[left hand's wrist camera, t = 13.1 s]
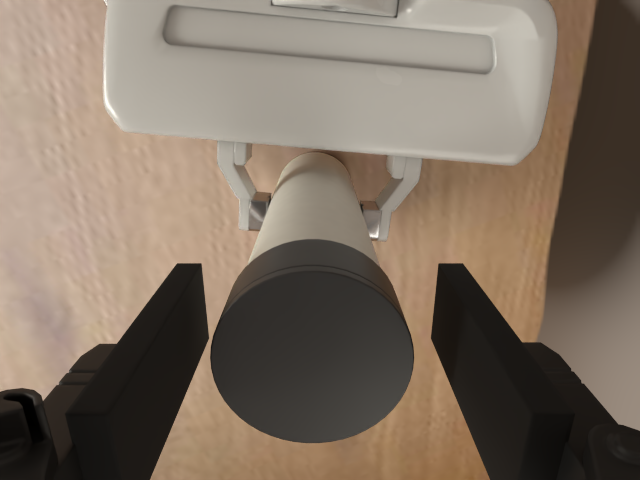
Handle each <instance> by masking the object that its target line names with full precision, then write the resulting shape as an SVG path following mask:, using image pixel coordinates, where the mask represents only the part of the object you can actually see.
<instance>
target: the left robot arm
mask: <svg viewBox="0 0 640 480" xmlns="http://www.w3.org/2000/svg"><path fill="white" fill-rule="evenodd" d="M208 339H209V334H208V324H207V314H206V304H205V294H204V285H203V275H202V265H201V264H176V266H175V267H174V268H173V270H172V271H171V272H170V274H169V275H168V276H167V278H166V279H165V280H164V282H163V283H162V284H161V286H160V287H159V288H158V290H157V291H156V292H155V294H154V295H153V296H152V298H151V299H150V300H149V302H148V303H147V304H146V306H145V307H144V308H143V310H142V311H141V312H140V314H139V315H138V316H137V318H136V319H135V320H134V322H133V323H132V324H131V326H130V327H129V328H128V330H127V331H126V332H125V334H124V335H123V336H122V338H121V339H120V340H119V342H118V343H117V344H99V345H97V346H96V347H94V348H93V349H91V350H90V351H88V352H87V353H85V354H84V355H82V356H81V357H80V358H79V359H78V361H77V362H76V363H75V364H74V365H73V366H72V368H71V369H70V370H69V373H67V374H66V375H65V376H64V377H63V378H62V379H61V381H60V382H59V385H56V387H55V388H54V389H53V390H52V391H51V393H50V394H49V395H48V396H47V397H46V398H45V400H44V401H43V400H42V397H41V395H40V394H39V393H37V392H36V391H35V390H30V389H24V388H20V389H11V390H5V391H2V392H0V480H150V478H151V476H152V473H153V471H154V468H155V466H156V464H157V461H158V459H159V456H160V454H161V452H162V449H163V447H164V445H165V442H166V440H167V437H168V435H169V433H170V430H171V428H172V425H173V423H174V421H175V418H176V416H177V413H178V411H179V409H180V406H181V404H182V402H183V399H184V397H185V394H186V392H187V390H188V387H189V385H190V382H191V380H192V378H193V375H194V373H195V370H196V368H197V366H198V363H199V361H200V359H201V356H202V354H203V351H204V349H205V347H206V344H207V342H208ZM431 339H432V342H433V344H434V347H435V349H436V351H437V354H438V356H439V359H440V361H441V363H442V366H443V368H444V370H445V373H446V375H447V378H448V380H449V382H450V385H451V387H452V390H453V392H454V394H455V397H456V399H457V402H458V404H459V406H460V409H461V411H462V413H463V416H464V418H465V421H466V423H467V425H468V428H469V430H470V433H471V435H472V437H473V440H474V442H475V445H476V447H477V449H478V452H479V454H480V456H481V459H482V461H483V464H484V466H485V468H486V471H487V473H488V476H489V478H490V480H640V431H638V430H635V429H632V428H630V427H627V426H624V425H618V423H617V422H616V421H615V420H614V419H613V418H612V416H611V415H610V414H609V413H608V412H607V410H606V409H605V408H604V407H603V406H602V405H601V403H600V402H599V401H598V400H597V399H596V398H595V396H594V395H593V394H592V393H591V392H590V390H589V389H588V388H587V387H586V386H585V385H584V384H582V383H581V380H580V379H579V377H578V376H577V375H576V374H575V373H574V372H572V371H571V368H570V367H569V366H568V365H567V363H566V362H565V361H564V360H563V359H562V357H561V356H560V355H559V354H557V353H556V352H554V351H553V350H551V349H550V348H548V347H547V346H545V345H544V344H542V343H522V342H521V340H520V339H519V338H518V336H517V335H516V334H515V332H514V331H513V330H512V328H511V327H510V326H509V324H508V323H507V322H506V320H505V319H504V318H503V316H502V315H501V314H500V312H499V311H498V310H497V308H496V307H495V306H494V304H493V303H492V302H491V300H490V299H489V298H488V296H487V295H486V294H485V292H484V291H483V290H482V288H481V287H480V286H479V284H478V283H477V282H476V280H475V279H474V278H473V276H472V275H471V274H470V272H469V271H468V270H467V268H466V267H465V266H464V264H439V265H438V275H437V285H436V294H435V304H434V314H433V324H432V334H431Z"/></svg>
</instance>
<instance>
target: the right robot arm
mask: <svg viewBox="0 0 640 480" xmlns="http://www.w3.org/2000/svg"><path fill="white" fill-rule="evenodd" d="M104 3H105V5H106V7H107V11H106V21H105V32H104V48H103V101H104V107H105V109H106V111H107V113H108V114H109V115H110V117H111V118H112V119H113V121H114V122H115V123H116V124H117V126H118V127H119V128H120V129H121V130H122V131H124V132H127V133H137V134H149V135H160V136H172V137H183V138H195V139H206V140H217V164H218V166H219V168H220V169H221V171H222V173H223V175H224V176H225V178H226V180H227V182H228V184H229V185H230V187H231V189H232V191H233V192H234V194H235V196H236V198H238V199H239V230H244V231H260V230H261V227H262V224H263V221H264V219H265V216H266V213H267V211H268V208H269V205H270V202H271V194H272V193H266V192H256V191H257V190H256V188H255V186H254V184H253V182H252V180H251V178H250V176H249V174H248V172H247V170H246V168H245V166H244V165H245V164H246V163H247V161H248V160H249V159H250V158H251V157H252V144H264V145H275V146H287V147H298V148H310V149H321V150H333V151H344V152H356V153H367V154H379V155H387V161H386V169H387V170H388V172H389V173H390V174H391V176H392V178H391V179H390V181H389V182H388V183H387V185H386V186H385V187H384V189H383V190H382V192H381V193H380V194H379V196H378V197H377V198H376V200H375V201H360V208H361V211H362V214H363V217H364V220H365V223H366V226H367V229H368V232H369V235H370V238H371V241H382V242H386V241H387V238H388V233H389V226H390V219H391V212H392V211H395V210H396V208H397V207H398V206H399V205H400V204H401V202H402V201H403V200H404V199H405V198H406V196H407V195H408V194H409V193H410V191H411V190H412V189H413V188H414V187H415V185H416V184H417V183H418V182H419V177H420V171H421V166H422V160H423V158H425V159H436V160H448V161H459V162H471V163H482V164H494V165H506V166H514V165H517V164H518V163H519V162H521V161H522V160H523V159H524V158H525V157H526V156H527V155H528V154H529V153H530V152H531V151H532V150H533V149H534V148H535V147H536V146H537V144H538V142H539V139H540V136H541V133H542V129H543V125H544V121H545V117H546V112H547V108H548V103H549V98H550V92H551V87H552V80H553V74H554V67H555V59H556V51H557V39H558V31H557V21H556V16H555V12H554V10H553V7H552V5H551V4H550V2H549V0H104Z"/></svg>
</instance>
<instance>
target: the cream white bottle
mask: <svg viewBox="0 0 640 480" xmlns="http://www.w3.org/2000/svg"><path fill="white" fill-rule="evenodd" d="M304 239H322V240H330V241H334V242H338V243H342V244H345V245H347V246H350V247H353V248H355V249H356V250H358V251H360V252H362V253H364V254H365V255H366V256H368V257H369V258H370V259H372V260H373V261H374V262H375V263H376V264H377V265H378V266H379V267H380V265H379V262H378V259H377V256H376V253H375V250H374V247H373V244H372V241H371V238H370V235H369V232H368V229H367V226H366V223H365V220H364V217H363V214H362V211H361V208H360V205H359V202H358V199H357V196H356V193H355V190H354V187H353V184H352V181H351V178H350V175H349V173H348V171H347V169H346V168H345V166H344V165H343V164H342V163H341V162H340V161H339V160H337V159H336V158H334V157H333V156H331V155H328V154H325V153H320V152H310V153H305V154H302V155H299V156H297V157H296V158H294V159H293V160H291V161H290V162H289V163H288V164H287V165H286V167H285V168H284V169H283V171H282V173H281V175H280V178H279V181H278V183H277V186H276V189H275V192H274V194H273V197H272V200H271V202H270V205H269V208H268V211H267V213H266V216H265V219H264V221H263V224H262V227H261V230H260V232H259V235H258V238H257V240H256V243H255V246H254V248H253V251H252V254H251V257H250V259H249V262H248V264H249V263H251V262H252V261H253V260H254V259H255V258H257V257H258V256H259V255H261V254H262V253H264V252H266V251H267V250H269V249H271V248H273V247H276V246H278V245H281V244H283V243H287V242H291V241H295V240H304Z"/></svg>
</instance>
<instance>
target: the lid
mask: <svg viewBox="0 0 640 480" xmlns="http://www.w3.org/2000/svg"><path fill="white" fill-rule="evenodd" d="M210 359H211V369H212V373H213V377H214V381H215V383H216V386H217V388H218V390H219V392H220V394H221V396H222V397H223V399H224V401H225V402H226V403H227V404H228V406H229V407H230V408H231V409H232V410H233V411H234V412H235V413H236V414H237V415H238V416H239V417H240V418H241V419H242V420H244V421H245V422H246V423H248V424H249V425H251V426H252V427H254V428H256V429H257V430H259V431H261V432H264V433H266V434H268V435H270V436H273V437H276V438H280V439H283V440H288V441H293V442H301V443H324V442H332V441H337V440H342V439H345V438H348V437H351V436H354V435H357V434H359V433H361V432H363V431H365V430H367V429H369V428H370V427H372V426H374V425H376V424H377V423H378V422H379V421H381V420H382V419H383V418H385V417H386V416H387V415H388V414H389V413H390V412H391V411H392V410H393V409H394V408H395V406H396V405H397V404H398V402H399V401H400V400H401V398H402V396H403V395H404V393H405V391H406V389H407V387H408V384H409V382H410V379H411V375H412V371H413V363H414V350H413V343H412V338H411V334H410V332H409V329H408V326H407V323H406V321H405V318H404V315H403V312H402V310H401V307H400V304H399V301H398V299H397V296H396V293H395V291H394V288H393V286H392V284H391V282H390V280H389V279H388V277H387V275H386V274H385V273H384V272H383V270H382V269H381V268H380V267H379V266H378V265H377V264H376V263H375V262H374V261H373V260H372V259H370V258H369V257H368V256H366V255H365V254H364V253H362V252H360V251H358V250H356V249H355V248H353V247H350V246H347V245H345V244H342V243H338V242H334V241H330V240H322V239H304V240H295V241H291V242H287V243H283V244H281V245H278V246H276V247H273V248H271V249H269V250H267V251H266V252H264V253H262V254H261V255H259V256H258V257H257V258H255V259H254V260H253V261H252V262H251V263H249V264H248V265H247V266H246V267H245V269H244V270H243V271H242V272H241V274H240V275H239V276H238V278H237V280H236V281H235V283H234V285H233V287H232V290H231V292H230V295H229V297H228V300H227V302H226V305H225V307H224V310H223V312H222V315H221V317H220V320H219V322H218V325H217V327H216V330H215V333H214V335H213V340H212V344H211V355H210Z"/></svg>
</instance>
